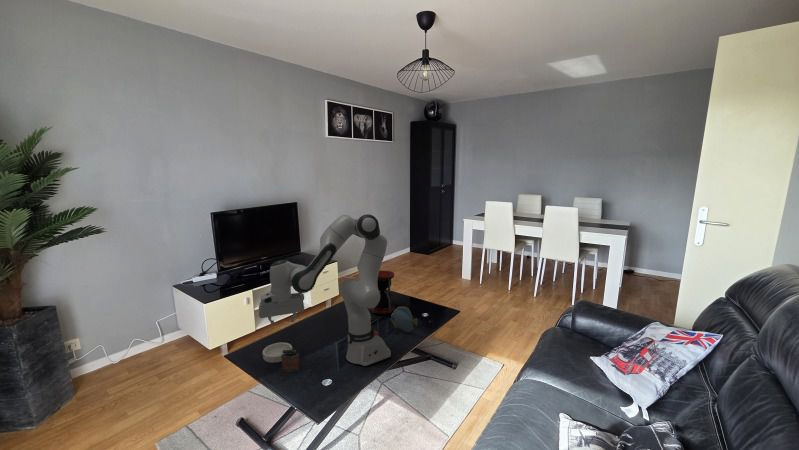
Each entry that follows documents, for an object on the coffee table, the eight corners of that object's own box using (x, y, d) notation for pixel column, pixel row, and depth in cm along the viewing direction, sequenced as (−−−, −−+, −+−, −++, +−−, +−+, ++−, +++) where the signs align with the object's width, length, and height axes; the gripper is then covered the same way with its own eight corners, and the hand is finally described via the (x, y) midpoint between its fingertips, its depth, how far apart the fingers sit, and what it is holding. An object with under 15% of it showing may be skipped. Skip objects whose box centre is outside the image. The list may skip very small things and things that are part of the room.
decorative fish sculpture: (395, 322, 207) (395, 299, 205) (422, 330, 196) (423, 306, 194) (383, 330, 197) (382, 305, 195) (411, 339, 186) (411, 313, 184)
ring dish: (290, 345, 180) (290, 340, 179) (293, 358, 167) (293, 353, 167) (262, 351, 174) (262, 346, 174) (263, 365, 162) (263, 359, 161)
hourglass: (365, 309, 227) (365, 273, 223) (384, 303, 238) (383, 268, 234) (381, 316, 215) (380, 279, 211) (399, 309, 226) (399, 273, 222)
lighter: (300, 367, 160) (299, 347, 159) (298, 371, 157) (297, 351, 155) (283, 367, 160) (281, 348, 158) (281, 371, 156) (279, 352, 155)
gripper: (302, 289, 163) (304, 316, 166) (257, 296, 155) (259, 324, 157) (305, 293, 158) (306, 321, 160) (257, 300, 149) (259, 330, 151)
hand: (282, 323), depth 158 cm, fingers open, 7 cm apart
